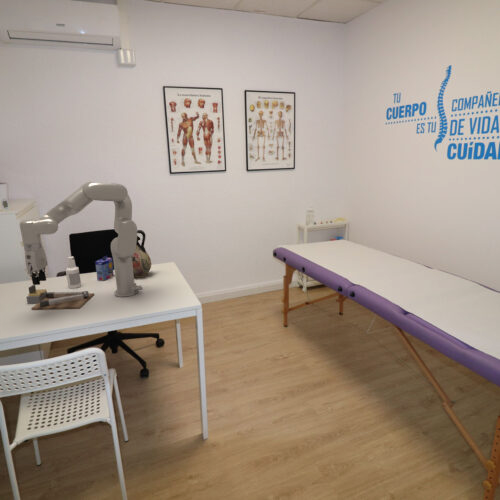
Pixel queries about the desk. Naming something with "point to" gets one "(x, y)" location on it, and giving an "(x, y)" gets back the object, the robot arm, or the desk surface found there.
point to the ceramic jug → (141, 258)
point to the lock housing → (36, 298)
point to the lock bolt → (35, 291)
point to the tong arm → (65, 299)
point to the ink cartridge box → (104, 268)
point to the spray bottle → (72, 274)
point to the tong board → (64, 304)
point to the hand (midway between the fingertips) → (39, 282)
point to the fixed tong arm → (61, 294)
